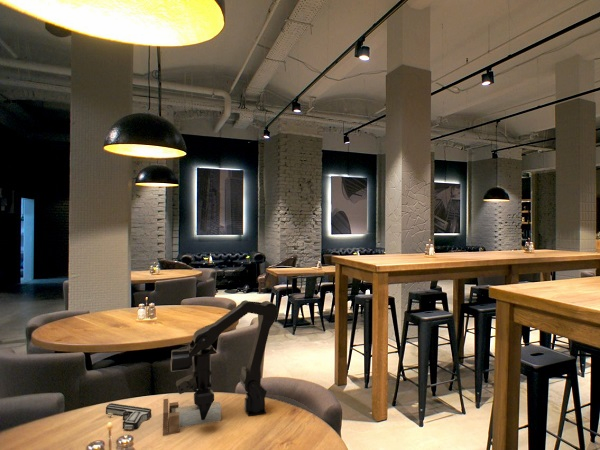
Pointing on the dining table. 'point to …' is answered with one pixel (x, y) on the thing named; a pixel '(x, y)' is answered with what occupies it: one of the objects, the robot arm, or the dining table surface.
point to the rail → (197, 415)
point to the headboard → (170, 418)
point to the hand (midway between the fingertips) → (201, 413)
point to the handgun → (129, 415)
